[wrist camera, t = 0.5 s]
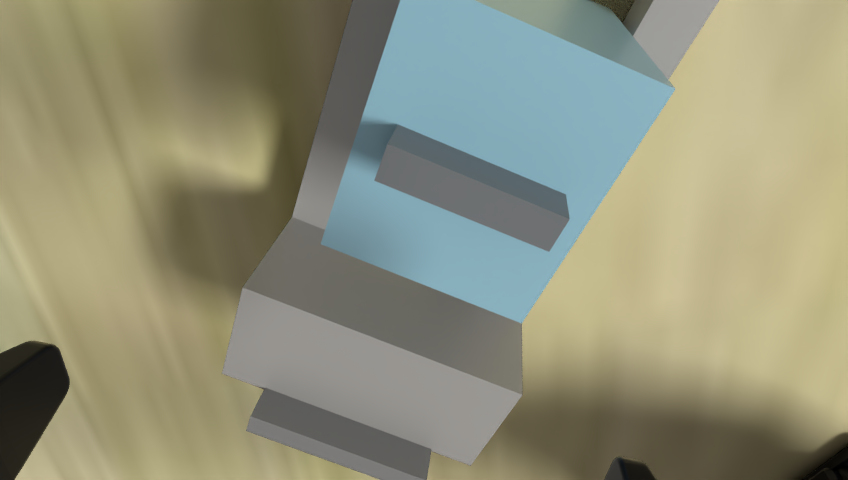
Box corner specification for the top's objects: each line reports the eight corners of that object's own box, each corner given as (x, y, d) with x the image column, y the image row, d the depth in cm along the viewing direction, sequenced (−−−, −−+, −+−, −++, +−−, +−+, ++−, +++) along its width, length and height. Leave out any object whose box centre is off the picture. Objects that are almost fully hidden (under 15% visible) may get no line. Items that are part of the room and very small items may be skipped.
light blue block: (610, 9, 16) (690, 107, 9) (520, 176, 19) (521, 353, 12) (455, -61, 16) (398, -21, 8) (389, 121, 19) (306, 269, 12)
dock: (737, -72, 15) (890, -48, 9) (474, 356, 24) (459, 508, 18) (428, -218, 14) (360, -301, 8) (282, 281, 24) (201, 414, 18)
